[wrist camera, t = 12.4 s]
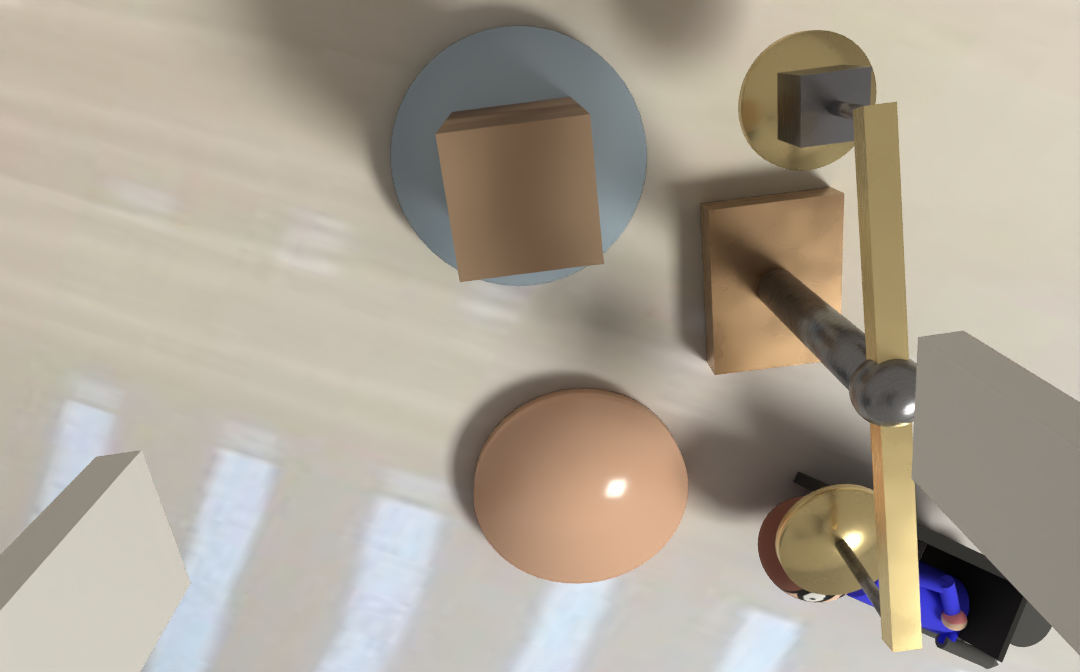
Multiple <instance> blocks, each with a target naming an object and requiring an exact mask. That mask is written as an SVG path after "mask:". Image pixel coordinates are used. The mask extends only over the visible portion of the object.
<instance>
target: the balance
mask: <svg viewBox="0 0 1080 672" xmlns="http://www.w3.org/2000/svg"><path fill="white" fill-rule="evenodd" d="M875 102H876V81H875V75H874V72H873V69H872V66H871V64H870V62H869V60H868V58H867V56H866V55H865V53H864V52H863V51H862V50H861V49H860V47H859V46H858V45H856V44H855V43H854V42H853V41H852V40H850V39H848V38H847V37H845V36H843V35H840V34H838V33H834V32H830V31H822V30H812V31H801V32H796V33H793V34H790V35H787V36H785V37H783V38H781V39H779V40H777V41H776V42H774V43H773V44H771V45H770V46H769V47H767V48H766V49H765V50H764V51H763V52H762V53H761V54H760V55H759V56H758V57H757V58H756V60H755V61H754V62H753V64H752V65H751V67H750V69H749V70H748V72H747V74H746V76H745V78H744V81H743V83H742V87H741V90H740V95H739V103H738V113H739V121H740V125H741V129H742V131H743V134H744V136H745V138H746V140H747V142H748V143H749V145H750V146H751V147H752V149H753V150H754V151H755V152H756V153H757V154H758V155H760V156H761V157H762V158H764V159H765V160H767V161H769V162H770V163H772V164H775V165H777V166H780V167H782V168H786V169H790V170H800V171H801V170H811V169H817V168H820V167H823V166H826V165H828V164H830V163H832V162H834V161H836V160H838V159H839V158H841V157H842V156H843V155H845V154H846V153H847V152H848V151H849V150H850V149H852V148H853V147H854V146H855V162H856V180H857V198H858V216H859V234H860V252H861V270H862V288H863V306H864V324H865V333H863V332H862V331H861V330H860V329H858V328H857V327H856V326H855V325H854V324H852V323H851V322H850V321H849V320H847V319H846V318H845V317H844V316H843V315H841V287H842V251H843V215H844V193H842V192H840V191H838V190H836V189H834V188H831V187H828V188H820V189H812V190H804V191H796V192H788V193H780V194H772V195H765V196H757V197H749V198H741V199H733V200H725V201H717V202H709V203H701V226H702V250H703V274H704V298H705V322H706V346H707V363H708V365H709V366H710V368H711V369H712V371H713V373H714V374H715V375H718V374H726V373H734V372H742V371H750V370H758V369H766V368H774V367H782V366H790V365H798V364H806V363H814V362H822V363H823V364H824V365H825V367H826V368H827V369H828V370H829V371H830V372H831V373H832V374H833V375H834V376H835V377H836V378H837V379H838V380H839V381H840V382H841V383H842V384H843V385H844V386H845V387H846V388H847V389H848V390H849V395H850V399H851V402H852V405H853V406H854V408H855V410H856V411H857V412H858V414H859V415H860V416H861V417H863V418H864V419H865V420H867V421H868V422H870V432H871V450H872V468H873V486H874V490H872V489H869V488H867V487H864V486H860V485H854V484H838V485H832V486H827V487H824V488H821V489H818V490H816V491H813V492H811V493H810V494H808V495H806V496H805V497H803V498H802V499H800V500H799V501H798V502H797V503H795V504H794V505H793V506H792V507H791V508H790V509H789V510H788V512H787V513H786V514H785V516H784V517H783V519H782V521H781V523H780V525H779V527H778V530H777V534H776V541H775V546H776V553H777V557H778V559H779V561H780V563H781V565H782V567H783V569H784V571H785V572H786V574H787V576H788V577H789V578H790V579H791V580H792V581H793V582H794V583H795V584H796V585H798V586H799V587H801V588H802V589H804V590H807V591H809V592H812V593H816V594H821V595H841V594H847V593H851V592H854V591H857V590H860V589H863V591H864V592H865V594H866V595H867V597H868V598H869V600H870V601H871V603H872V604H873V606H874V607H875V609H876V611H877V612H878V614H879V615H880V617H881V629H882V640H883V641H884V642H885V643H886V644H887V646H888V647H889V648H890V649H891V650H892V652H897V651H905V650H914V649H922V633H921V611H920V590H919V568H918V547H917V525H916V503H915V482H914V481H913V480H912V479H911V476H912V455H913V439H912V422H913V421H914V413H915V392H916V371H917V364H916V363H915V362H914V361H912V360H911V359H909V353H908V331H907V310H906V288H905V266H904V245H903V223H902V202H901V180H900V159H899V137H898V116H897V102H891V103H883V104H876V105H875ZM878 579H879V588H878V587H877V586H876V584H875V583H874V582H875V581H876V580H878Z"/></svg>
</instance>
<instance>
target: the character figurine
mask: <svg viewBox="0 0 1080 672" xmlns="http://www.w3.org/2000/svg"><path fill="white" fill-rule="evenodd" d="M794 482H795V483H797V484H799V485H801V486H803V487H805V488H808V489H810V490H812V491H816V490H818V489H821V488H824V487H827V486H831V485H828V484H826V483H824V482H821V481H819V480H817V479H814V478H812V477H810V476H807V475H805V474H803V473H800V472H798V473H797V475H796V477H795V479H794ZM803 497H805V496H801V497H795V498H792V499H788V500H786V501H784V502H782V503H780V504H779V505H777V506H776V507H775V508H774V509H773V510H772V511H771V512H770V513H769V514H768V515H767V517H766V518H765V520H764V521H763V523H762V526H761V528H760V532H759V537H758V551H759V557H760V560H761V563H762V566H763V568H764V570H765V572H766V573H767V575H768V576H769V578H770V579H771V580H772V581H773V582H774V584H775V585H776V586H778V587H779V588H780V589H781V590H782V591H784V592H785V593H787V594H789V595H791V596H793V597H795V598H797V599H801V600H804V601H809V602H828V601H832V600H835V599H838V598H840V597H842V596H844V595H848V596H850V597H852V598H855V599H857V600H859V601H862V602H864V603H866V604H868V605H871V606H873V604H872V603H871V601H870V600H869V598H868V597H867V595H866V594H865V592H864V591H863V589H860V590H857V591H854V592H851V593H847V594H841V595H821V594H816V593H812V592H809V591H807V590H804V589H802V588H801V587H799V586H798V585H796V584H795V583H794V582H793V581H792V580H791V579H790V578H789V577H788V576H787V574H786V572H785V571H784V569H783V567H782V565H781V563H780V561H779V559H778V557H777V553H776V546H775V541H776V534H777V530H778V527H779V525H780V523H781V521H782V519H783V517H784V516H785V514H786V513H787V512H788V510H789V509H790V508H791V507H792V506H793V505H794V504H795V503H797V502H798V501H799V500H800V499H802V498H803ZM916 525H917V539H918V540H920V541H922V542H925V543H927V546H926V549H925V551H924V553H923V556H922V558H921V561H920V560H918V568H919V590H920V611H921V633H923V634H926V635H928V636H930V637H933V638H935V643H936V645H937V647H938V648H940V649H943V650H945V651H948V652H950V653H952V654H955V655H957V656H959V657H962V658H964V659H966V660H969V661H971V662H973V663H976V664H978V665H980V666H983V667H984V668H986V669H990V668H992V667H995V666H997V665H998V663H997V661H996V660H998V661H1000V662H1002V661H1003V659H1004V657H1005V654H1006V652H1007V649H1008V647H1009V644H1012V645H1014V646H1018V647H1028V646H1031V645H1034V644H1036V643H1038V642H1039V641H1041V640H1042V639H1043V638H1044V637H1045V636H1046V635H1047V633H1048V632H1049V631H1050V629H1051V627H1052V626H1051V625H1050V624H1049V623H1048V622H1047V620H1046V619H1045V618H1044V617H1043V616H1042V615H1041V614H1040V613H1039V612H1038V611H1037V610H1036V609H1035V608H1034V607H1033V606H1032V605H1031V604H1030V603H1029V602H1028V601H1027V599H1026V598H1025V597H1024V596H1023V595H1022V594H1021V593H1020V592H1019V591H1018V590H1017V589H1016V588H1015V587H1014V586H1013V585H1012V584H1011V583H1010V582H1009V581H1008V579H1007V578H1006V577H1005V576H1004V575H1003V574H1002V573H1001V572H1000V571H999V570H998V569H997V568H996V567H995V566H994V565H993V564H992V563H991V562H990V561H989V560H988V558H987V557H986V556H985V555H983V554H981V553H978V552H976V551H974V550H972V549H970V548H968V547H966V546H963V545H961V544H959V543H957V542H955V541H953V540H951V539H948V538H946V537H944V536H942V535H940V534H938V533H936V532H933V531H931V530H929V529H927V528H925V527H923V526H921V525H918V524H916ZM874 583H875V584H876V586H877V587H878V588H879V579H878V580H876V581H875V582H874ZM873 607H874V606H873ZM966 642H967V643H966ZM968 643H969V644H968ZM970 644H971V645H970Z"/></svg>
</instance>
